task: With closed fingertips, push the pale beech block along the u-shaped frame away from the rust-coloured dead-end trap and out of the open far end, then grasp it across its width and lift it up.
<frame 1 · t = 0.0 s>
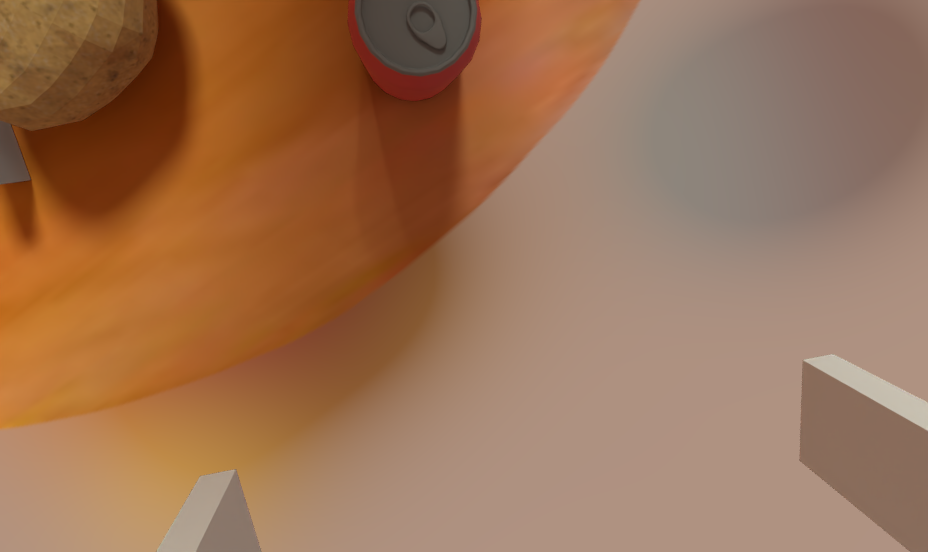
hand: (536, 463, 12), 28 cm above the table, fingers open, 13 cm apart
potato: (102, 21, 33), on the table
beer can: (411, 50, 36), on the table
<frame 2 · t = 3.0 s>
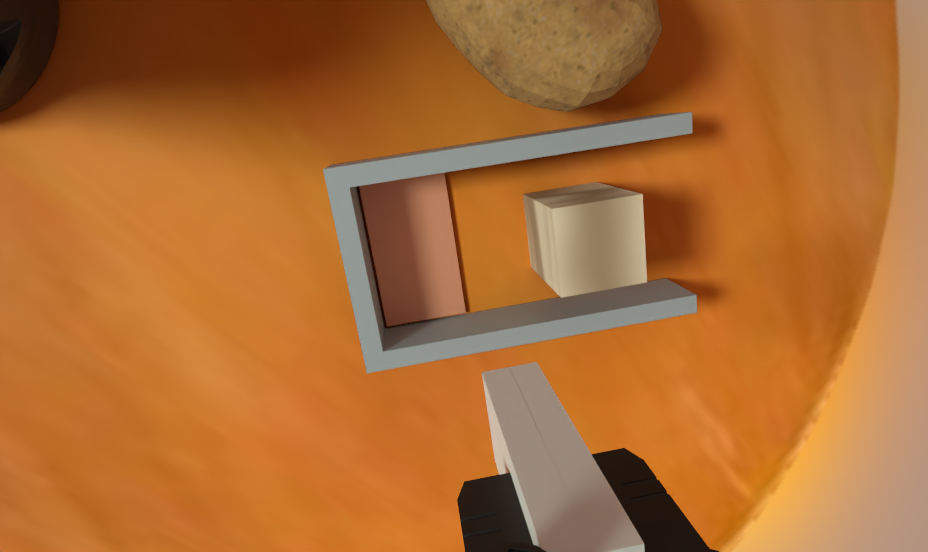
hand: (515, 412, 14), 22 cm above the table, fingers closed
u-shaped frame: (519, 232, 36), on the table
block: (563, 224, 36), resting in u-shaped frame
potato: (513, 11, 32), on the table
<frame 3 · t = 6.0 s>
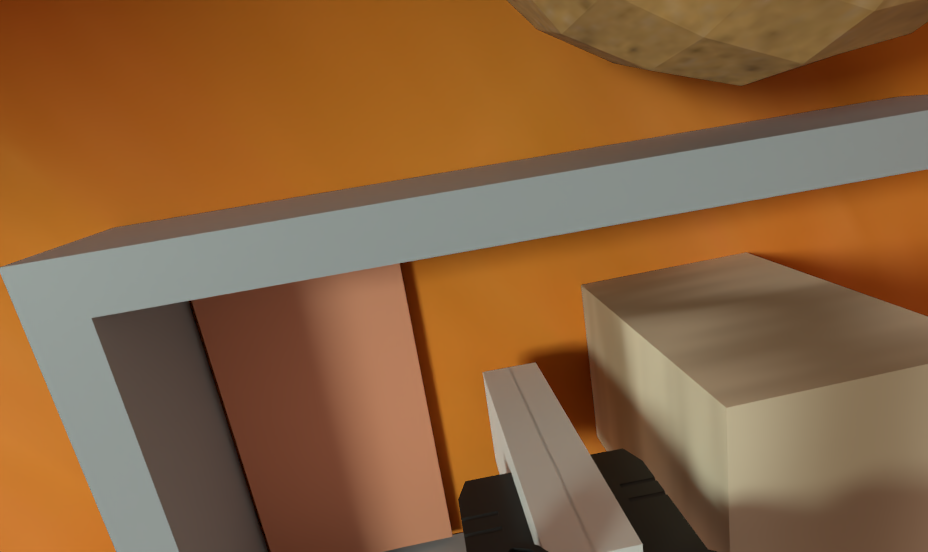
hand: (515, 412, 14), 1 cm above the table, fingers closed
u-shaped frame: (571, 366, 16), on the table
block: (669, 347, 16), resting in u-shaped frame, touching gripper
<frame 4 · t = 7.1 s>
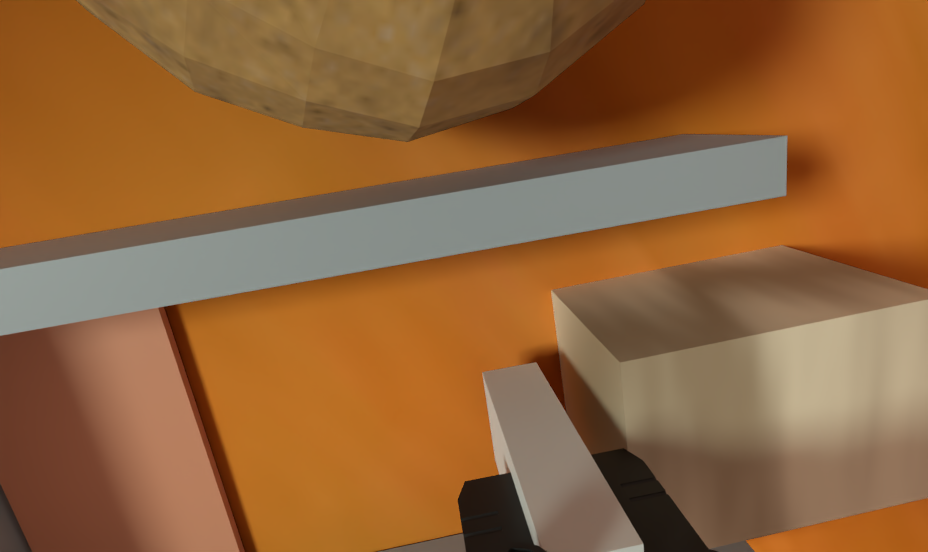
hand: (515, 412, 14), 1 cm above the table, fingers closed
u-shaped frame: (362, 408, 15), on the table
block: (588, 410, 14), point 2 cm above the table, tilted 90°, touching gripper
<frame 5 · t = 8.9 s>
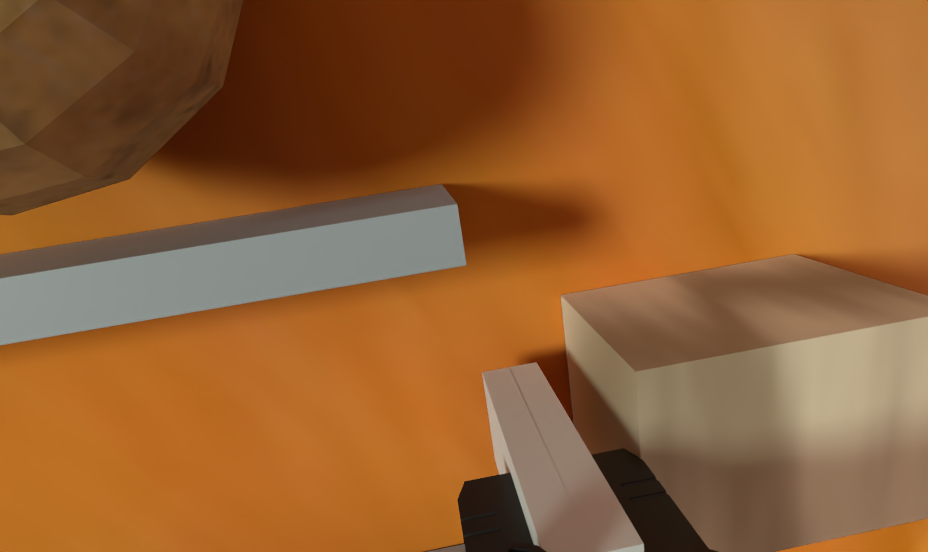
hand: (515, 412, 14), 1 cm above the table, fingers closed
u-shaped frame: (121, 463, 15), on the table
block: (598, 418, 13), point 2 cm above the table, tilted 90°, touching gripper
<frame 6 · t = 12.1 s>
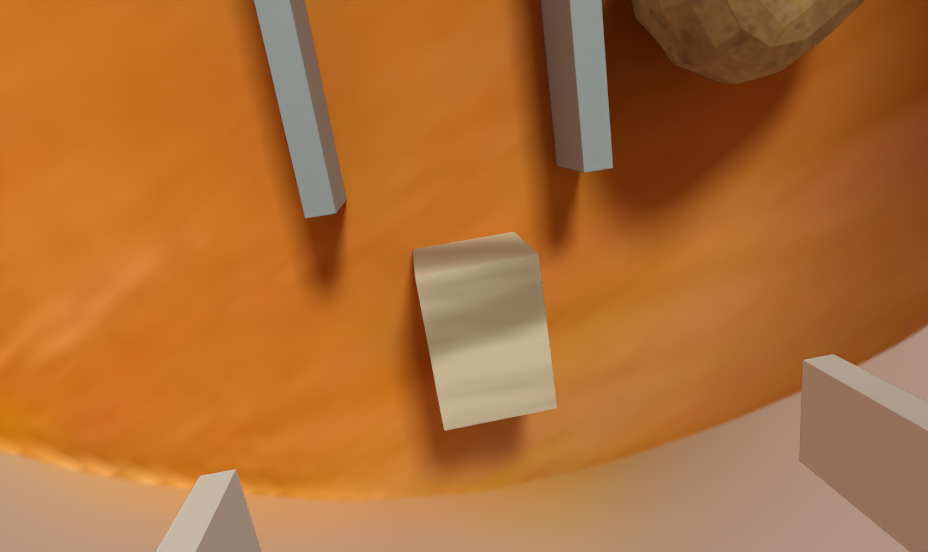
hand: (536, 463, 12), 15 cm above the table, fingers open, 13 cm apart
block: (469, 251, 24), point 2 cm above the table, tilted 90°
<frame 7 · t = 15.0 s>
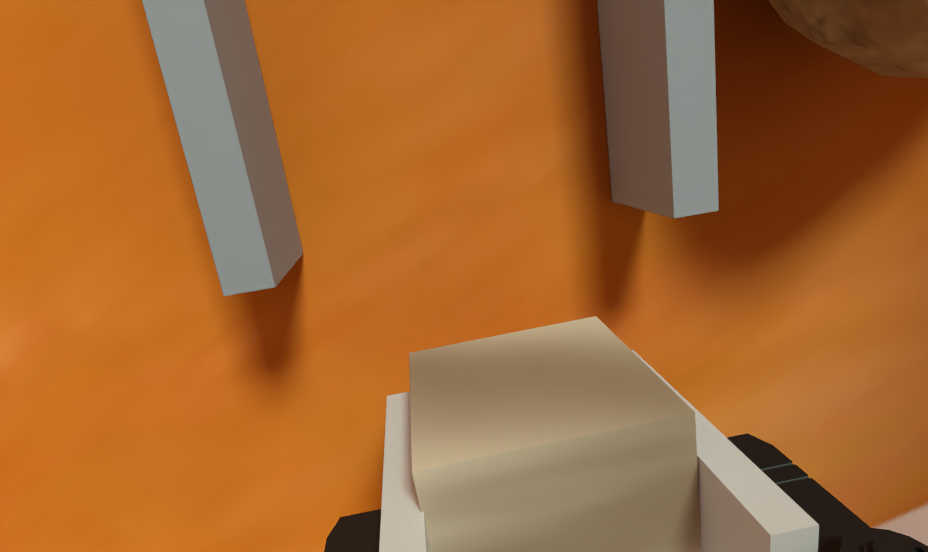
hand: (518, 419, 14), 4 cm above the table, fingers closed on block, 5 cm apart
block: (524, 376, 12), point 6 cm above the table, tilted 91°, touching gripper
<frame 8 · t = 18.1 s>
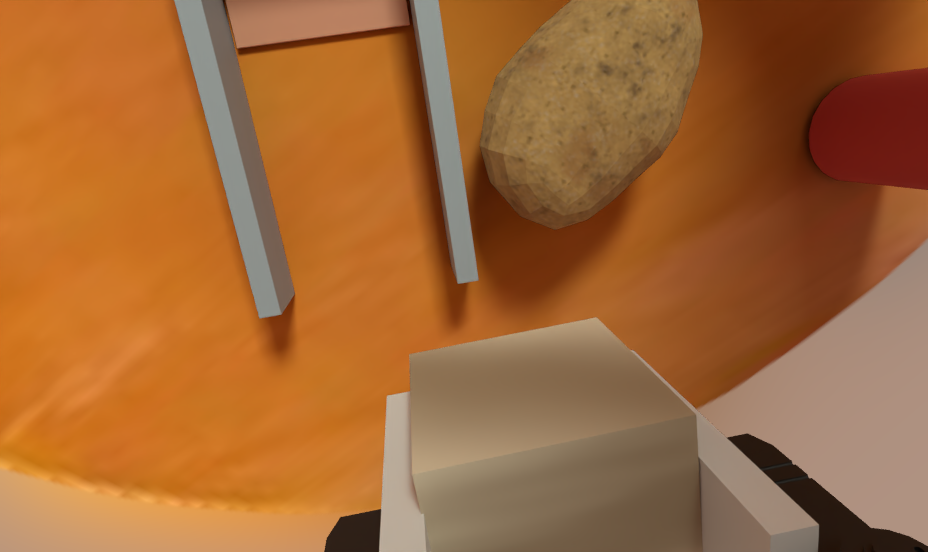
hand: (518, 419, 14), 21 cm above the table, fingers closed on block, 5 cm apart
u-shaped frame: (341, 117, 31), on the table
block: (524, 378, 12), point 23 cm above the table, tilted 90°, touching gripper
potato: (565, 106, 33), on the table
beer can: (846, 129, 35), on the table
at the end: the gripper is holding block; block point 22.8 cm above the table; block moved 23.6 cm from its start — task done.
